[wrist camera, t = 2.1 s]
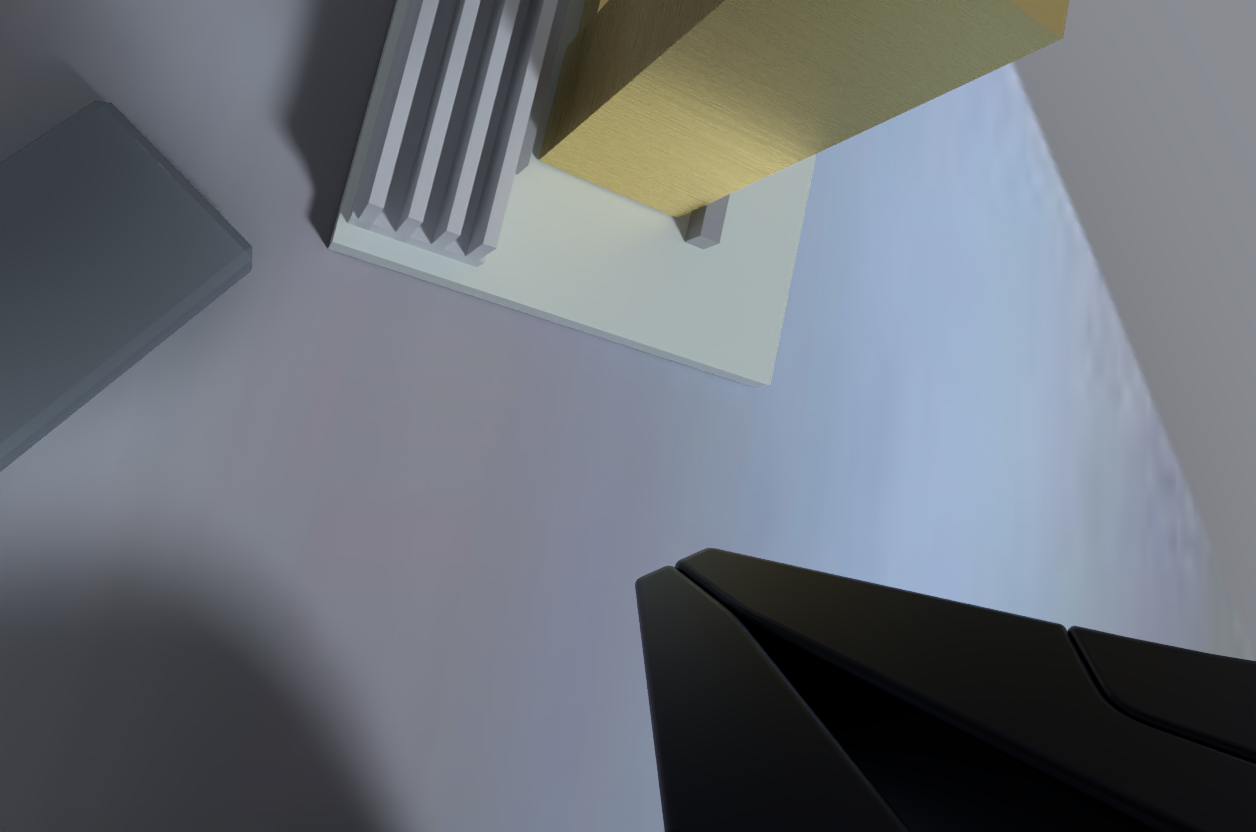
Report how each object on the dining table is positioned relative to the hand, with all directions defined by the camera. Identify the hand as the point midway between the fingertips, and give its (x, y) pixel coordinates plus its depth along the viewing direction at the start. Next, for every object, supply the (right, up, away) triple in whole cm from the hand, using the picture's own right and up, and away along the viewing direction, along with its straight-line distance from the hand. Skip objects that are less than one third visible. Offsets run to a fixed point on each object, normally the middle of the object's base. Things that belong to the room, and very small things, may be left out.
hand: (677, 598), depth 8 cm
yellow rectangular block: (0, +10, +13) cm, 17 cm away
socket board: (0, +12, +14) cm, 18 cm away
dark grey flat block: (-13, +3, +8) cm, 16 cm away
